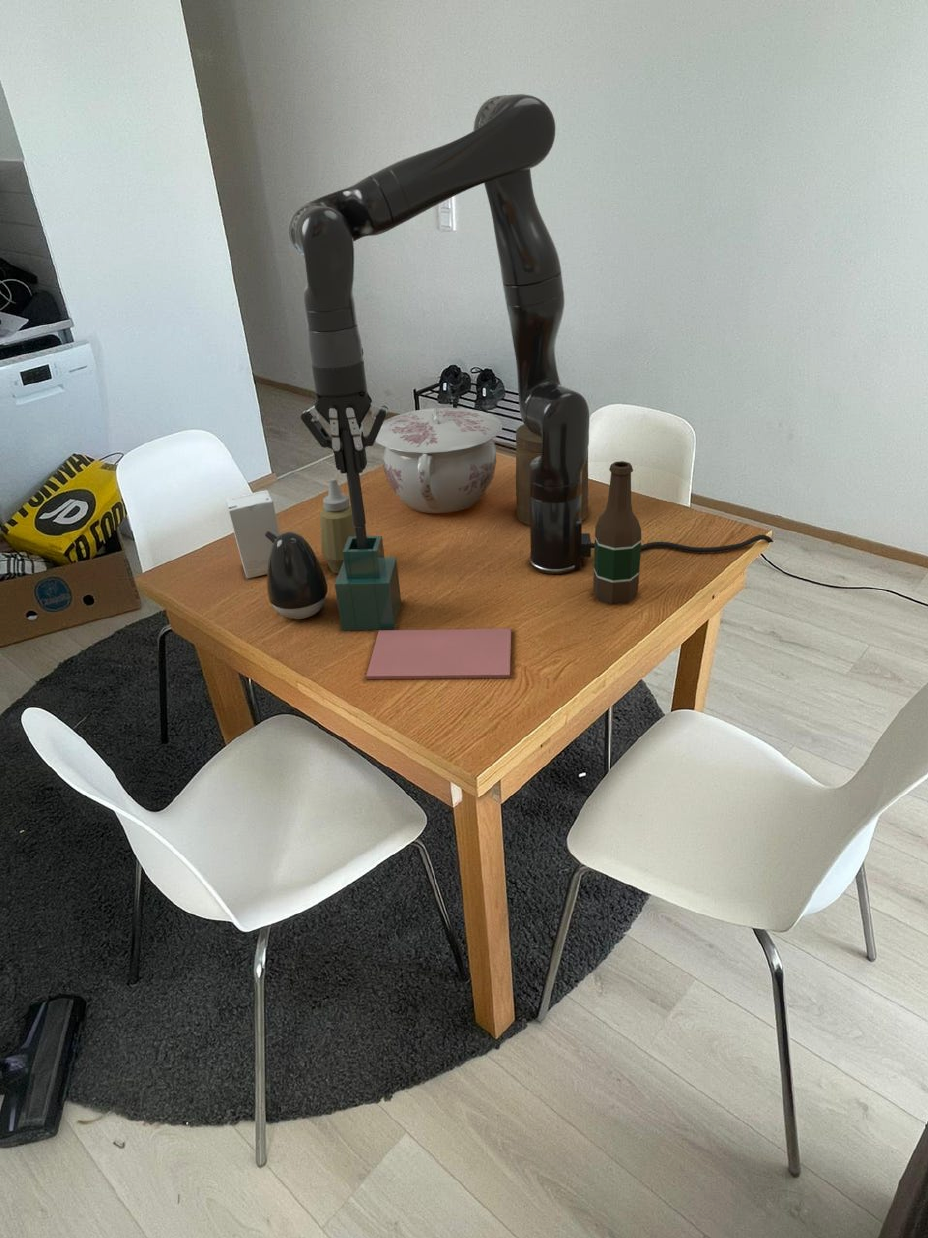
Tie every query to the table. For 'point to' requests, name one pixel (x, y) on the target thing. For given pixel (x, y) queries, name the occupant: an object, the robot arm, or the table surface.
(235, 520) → the cosmetic box
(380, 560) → the green square vase
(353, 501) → the stepped grey rod
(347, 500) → the squeeze bottle
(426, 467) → the chamber pot
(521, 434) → the wooden container
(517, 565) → the table surface
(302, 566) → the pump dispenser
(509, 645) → the place mat
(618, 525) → the beer bottle
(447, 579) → the table surface
